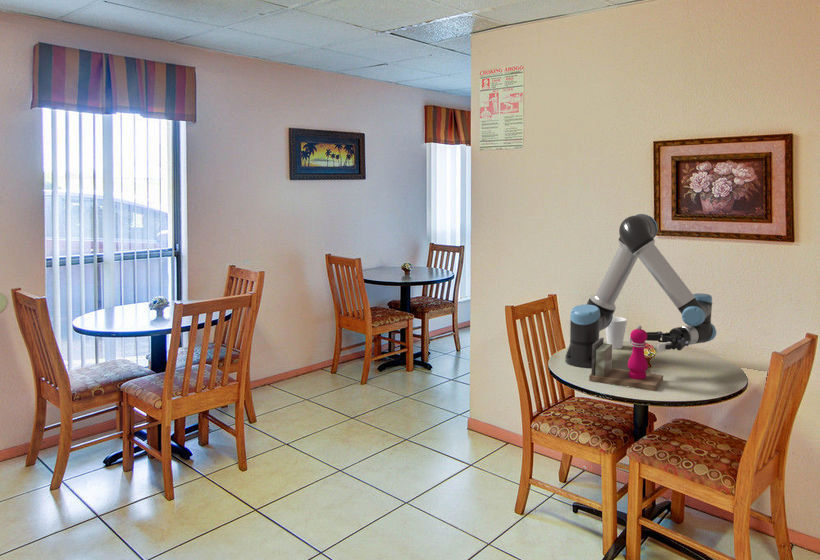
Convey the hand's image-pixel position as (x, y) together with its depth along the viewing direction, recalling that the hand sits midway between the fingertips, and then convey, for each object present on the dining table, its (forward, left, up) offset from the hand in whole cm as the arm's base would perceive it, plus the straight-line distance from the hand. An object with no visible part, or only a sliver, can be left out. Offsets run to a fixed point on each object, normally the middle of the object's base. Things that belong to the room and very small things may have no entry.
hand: (643, 343), depth 237 cm
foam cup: (-21, +45, -15) cm, 52 cm away
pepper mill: (-1, -1, -13) cm, 13 cm away
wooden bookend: (-5, -1, -15) cm, 16 cm away
